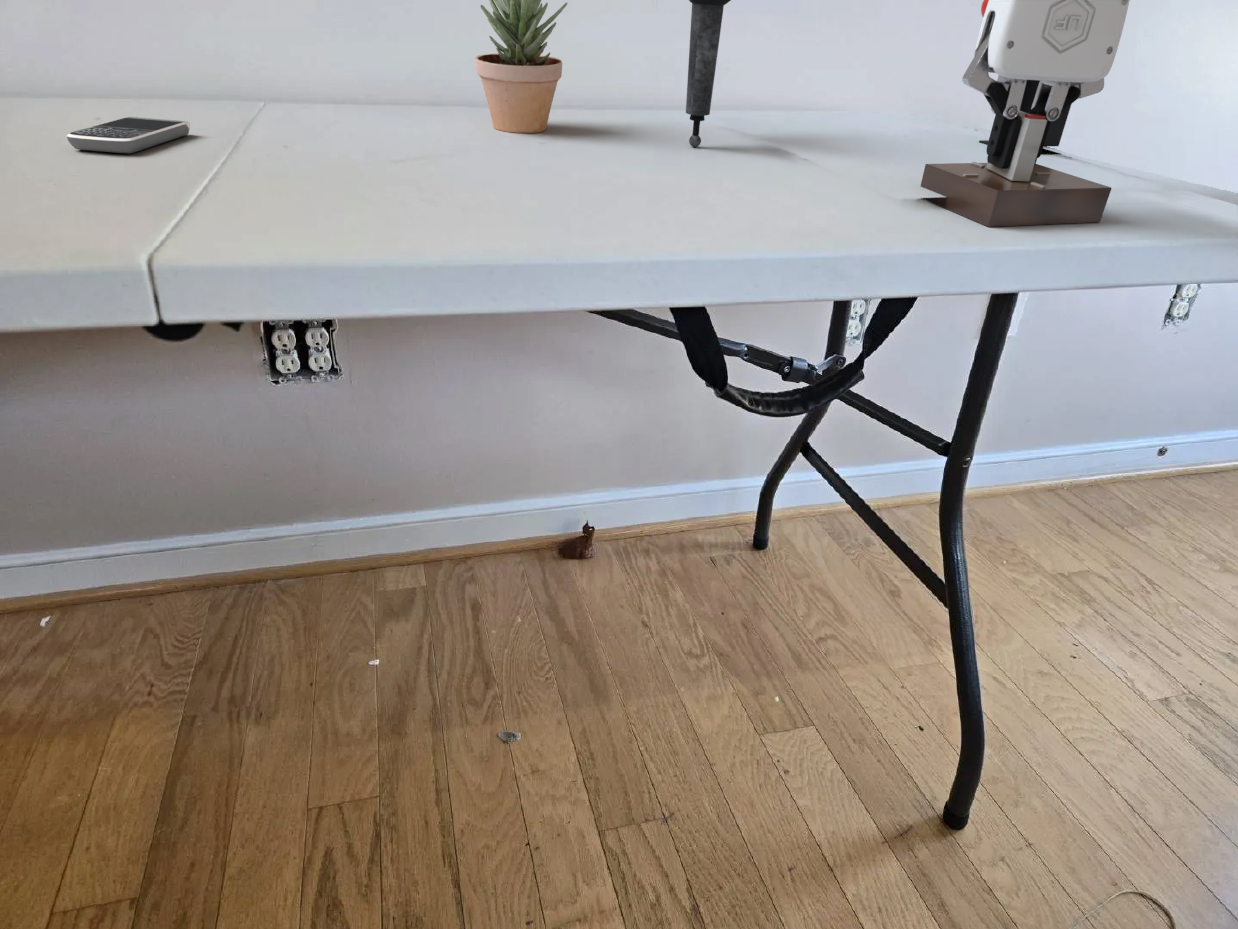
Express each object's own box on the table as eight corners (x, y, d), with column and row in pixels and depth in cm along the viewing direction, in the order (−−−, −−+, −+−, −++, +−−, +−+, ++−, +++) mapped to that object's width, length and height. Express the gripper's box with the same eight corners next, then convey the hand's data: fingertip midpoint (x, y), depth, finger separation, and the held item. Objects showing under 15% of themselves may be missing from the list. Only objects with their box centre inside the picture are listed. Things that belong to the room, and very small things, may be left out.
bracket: (1016, 163, 96) (1052, 37, 89) (976, 150, 101) (1007, 30, 95) (1072, 162, 98) (1112, 39, 92) (1030, 150, 104) (1064, 33, 97)
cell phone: (64, 151, 76) (59, 134, 75) (137, 129, 86) (133, 114, 85) (130, 156, 76) (126, 140, 75) (196, 134, 85) (193, 119, 84)
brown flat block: (1021, 193, 83) (1031, 160, 81) (1100, 222, 75) (1113, 185, 73) (917, 196, 79) (925, 161, 78) (988, 227, 71) (999, 188, 70)
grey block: (985, 167, 77) (1002, 106, 74) (1002, 168, 77) (1019, 106, 75) (1011, 181, 73) (1030, 115, 70) (1029, 181, 73) (1048, 116, 70)
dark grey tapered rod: (654, 147, 92) (670, -70, 82) (675, 138, 98) (692, -67, 87) (715, 156, 90) (738, -66, 80) (733, 145, 96) (757, -64, 85)
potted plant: (481, 135, 93) (473, -141, 80) (474, 119, 101) (466, -134, 88) (571, 136, 95) (578, -132, 82) (557, 121, 103) (561, -126, 90)
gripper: (1003, -92, 61) (940, 172, 71) (1207, -77, 63) (1117, 179, 72) (961, -88, 68) (908, 153, 77) (1146, -75, 69) (1072, 160, 79)
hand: (1009, 164), depth 75 cm, fingers closed, pressing on grey block
